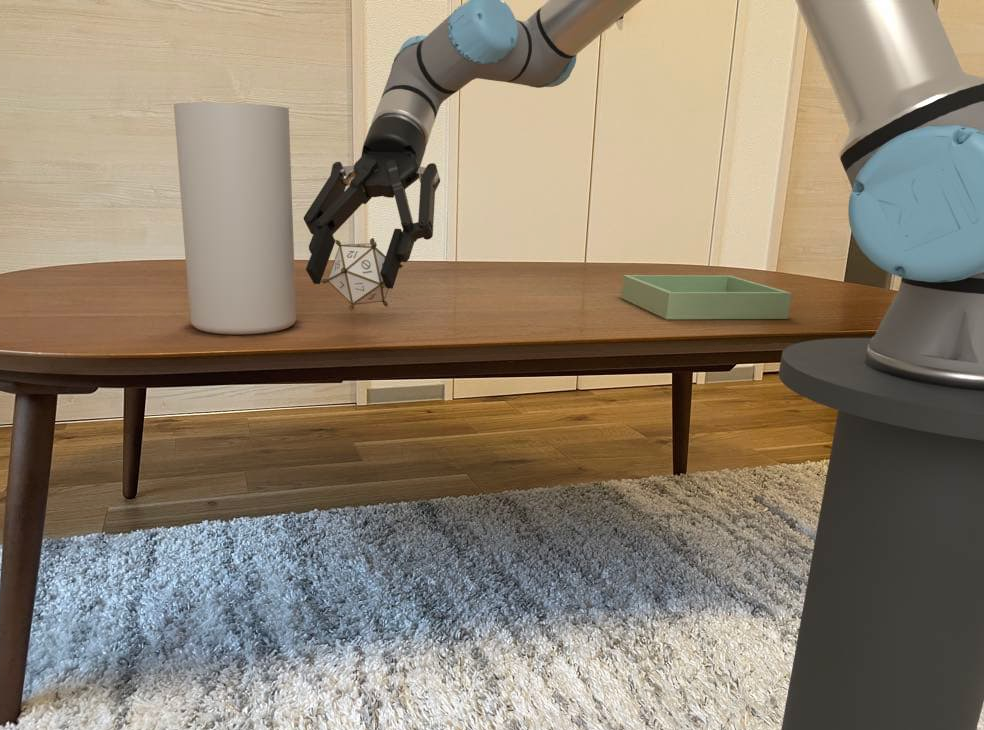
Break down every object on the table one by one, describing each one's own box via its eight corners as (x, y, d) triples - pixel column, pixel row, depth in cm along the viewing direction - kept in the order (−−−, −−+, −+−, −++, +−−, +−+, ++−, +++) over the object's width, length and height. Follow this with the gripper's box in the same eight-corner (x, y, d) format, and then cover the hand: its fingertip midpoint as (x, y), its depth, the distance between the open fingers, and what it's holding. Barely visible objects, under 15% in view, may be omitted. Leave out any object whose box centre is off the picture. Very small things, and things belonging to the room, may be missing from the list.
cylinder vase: (187, 337, 88) (168, 100, 80) (194, 317, 99) (178, 108, 92) (299, 334, 90) (291, 105, 83) (293, 315, 102) (286, 112, 95)
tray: (788, 319, 107) (792, 292, 106) (666, 319, 104) (669, 292, 103) (727, 298, 123) (730, 275, 122) (621, 298, 121) (623, 275, 120)
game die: (364, 334, 96) (385, 264, 99) (401, 319, 89) (422, 244, 92) (300, 302, 91) (325, 230, 94) (334, 284, 84) (359, 207, 87)
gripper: (483, 160, 99) (444, 304, 89) (331, 158, 105) (278, 293, 95) (473, 112, 92) (430, 262, 82) (312, 113, 99) (253, 253, 89)
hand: (349, 278), depth 89 cm, fingers closed on game die, 8 cm apart
